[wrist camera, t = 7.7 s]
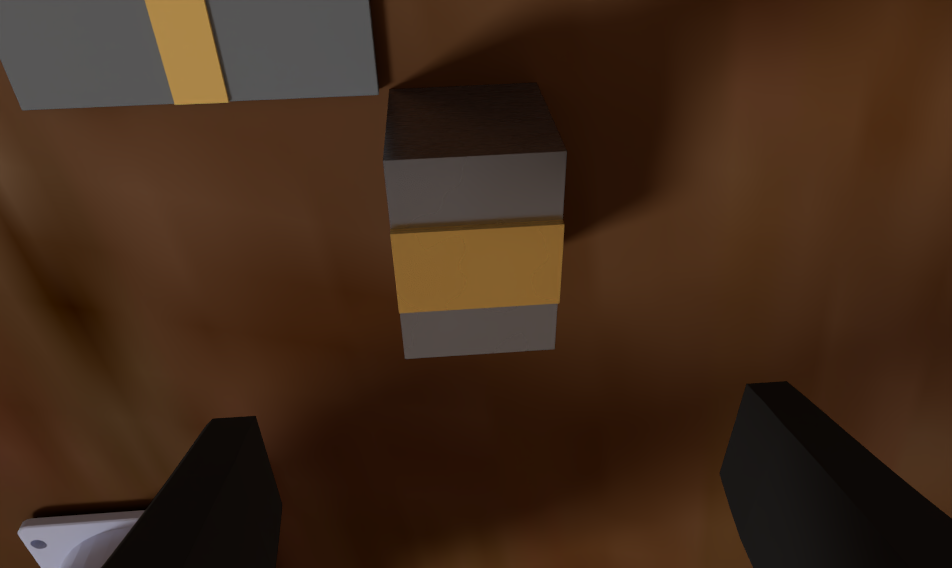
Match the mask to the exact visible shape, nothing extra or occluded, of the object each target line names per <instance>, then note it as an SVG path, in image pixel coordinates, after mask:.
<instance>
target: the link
mask: <svg viewBox="0 0 952 568" xmlns="http://www.w3.org/2000/svg"><path fill="white" fill-rule="evenodd" d="M566 158H567V150H566V148H565V146H564V144H563V141H562V139H561V137H560V134H559V132H558V130H557V128H556V125H555V123H554V121H553V119H552V116H551V114H550V112H549V110H548V107H547V105H546V103H545V100H544V98H543V96H542V94H541V91H540V89H539V87H538V85H537V83H516V84H495V85H473V86H451V87H430V88H408V89H389V99H388V110H387V122H386V133H385V144H384V156H383V165H384V174H385V183H386V192H387V201H388V210H389V219H390V228H391V232H390V236H391V245H392V254H393V262H394V271H395V280H396V289H397V298H398V307H399V313H400V318H401V327H402V336H403V345H404V354H405V359H412V358H428V357H443V356H458V355H473V354H488V353H503V352H518V351H534V350H549V349H555V335H556V319H557V304H558V303H559V301H560V286H561V270H562V255H563V239H564V222H563V206H564V190H565V174H566Z"/></svg>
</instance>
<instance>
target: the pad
mask: <svg viewBox="0 0 952 568" xmlns="http://www.w3.org/2000/svg"><path fill="white" fill-rule="evenodd" d="M0 59H1V62H2V64H3V67H4V69H5V71H6V74H7V76H8V78H9V81H10V83H11V85H12V88H13V90H14V92H15V95H16V97H17V99H18V102H19V104H20V106H21V109H22V110H39V109H62V108H85V107H108V106H131V105H154V104H175V105H182V104H205V103H228V102H229V101H246V100H269V99H292V98H315V97H338V96H361V95H378V94H379V86H378V76H377V67H376V57H375V48H374V38H373V28H372V19H371V9H370V0H0Z"/></svg>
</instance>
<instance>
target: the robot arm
mask: <svg viewBox="0 0 952 568" xmlns="http://www.w3.org/2000/svg"><path fill="white" fill-rule="evenodd" d="M720 476H721V480H722V483H723V486H724V490H725V493H726V496H727V499H728V503H729V506H730V509H731V512H732V515H733V518H734V521H735V524H736V527H737V530H738V533H739V536H740V539H741V541H742V543H743V546H744V548H745V550H746V552H747V555H748V557H749V559H750V561H751V564H752V566H753V568H952V519H951V518H950V517H949V516H948V515H946V514H945V513H944V512H943V511H941V510H940V509H939V508H937V507H936V506H935V505H934V504H932V503H931V502H930V501H929V500H927V499H926V498H925V497H924V496H923V495H921V494H920V493H919V492H918V491H916V490H915V489H914V488H913V487H911V486H910V485H909V484H908V483H907V482H905V481H904V480H903V479H902V478H900V477H899V476H898V475H897V474H896V473H894V472H893V471H892V470H891V469H890V468H888V467H887V466H886V465H885V464H884V463H882V462H881V461H880V460H879V459H878V458H876V457H875V456H874V455H873V454H872V453H871V452H869V451H868V450H867V449H866V448H865V447H864V446H862V445H861V444H860V443H859V442H858V441H856V440H855V439H854V438H853V437H852V436H851V435H849V434H848V433H847V432H846V431H845V430H844V429H842V428H841V427H840V426H839V425H838V424H837V423H835V422H834V421H833V420H832V419H831V418H830V417H828V416H827V415H826V414H825V413H824V412H823V411H821V410H820V409H819V408H818V407H817V406H816V405H814V404H813V403H812V402H811V401H810V400H809V399H807V398H806V397H805V396H804V395H803V394H801V393H800V392H799V391H798V390H797V389H795V388H794V387H793V386H792V385H791V384H789V383H788V382H787V381H784V382H769V383H753V384H746V387H745V391H744V394H743V397H742V401H741V404H740V407H739V411H738V414H737V417H736V421H735V424H734V427H733V431H732V434H731V437H730V441H729V444H728V447H727V451H726V454H725V457H724V461H723V464H722V467H721V471H720ZM281 514H282V502H281V499H280V495H279V492H278V489H277V485H276V482H275V479H274V475H273V472H272V469H271V465H270V462H269V459H268V455H267V452H266V449H265V445H264V442H263V439H262V436H261V432H260V429H259V426H258V422H257V419H256V416H248V417H233V418H217V419H212V420H211V421H210V422H209V423H208V424H207V425H206V427H205V428H204V429H203V431H202V432H201V434H200V435H199V436H198V438H197V439H196V441H195V442H194V443H193V445H192V446H191V448H190V449H189V451H188V452H187V453H186V455H185V456H184V458H183V459H182V460H181V462H180V463H179V465H178V466H177V467H176V469H175V470H174V472H173V473H172V474H171V476H170V477H169V479H168V480H167V481H166V483H165V484H164V485H163V487H162V488H161V490H160V491H159V492H158V494H157V495H156V496H155V498H154V499H153V500H152V502H151V503H150V505H149V506H148V507H147V509H146V510H139V511H126V512H112V513H98V514H84V515H71V516H57V517H43V518H32V519H27V520H25V521H24V522H23V523H22V525H21V527H20V528H19V530H18V535H19V537H20V538H21V540H22V541H23V543H24V544H25V545H26V547H27V548H28V550H29V551H30V553H31V554H32V556H33V557H34V558H35V560H36V561H37V563H38V564H39V566H40V567H41V568H276V560H277V551H278V543H279V533H280V524H281Z"/></svg>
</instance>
